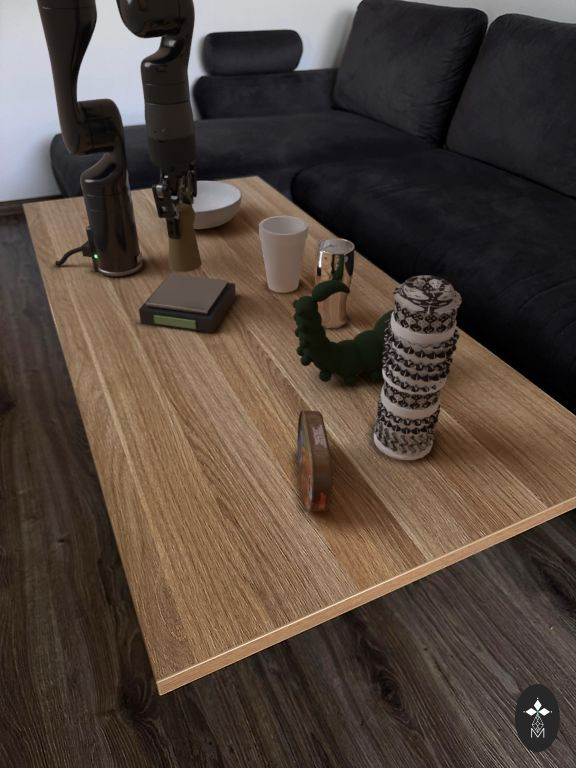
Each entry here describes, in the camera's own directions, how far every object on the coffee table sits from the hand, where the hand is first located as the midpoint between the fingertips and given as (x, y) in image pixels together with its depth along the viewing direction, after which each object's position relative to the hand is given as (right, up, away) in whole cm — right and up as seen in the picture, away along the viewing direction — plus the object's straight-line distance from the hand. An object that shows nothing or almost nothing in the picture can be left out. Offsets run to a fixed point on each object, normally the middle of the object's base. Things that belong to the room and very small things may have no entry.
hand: (181, 231), depth 104 cm
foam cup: (+18, -7, +18) cm, 26 cm away
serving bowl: (-3, +13, +44) cm, 46 cm away
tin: (+22, -40, -25) cm, 52 cm away
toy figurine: (+32, -25, -6) cm, 41 cm away
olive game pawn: (0, -5, +4) cm, 7 cm away
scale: (0, -13, +10) cm, 16 cm away
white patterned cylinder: (+35, -35, -19) cm, 53 cm away
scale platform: (0, -10, +8) cm, 13 cm away
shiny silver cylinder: (+27, -15, +7) cm, 32 cm away
